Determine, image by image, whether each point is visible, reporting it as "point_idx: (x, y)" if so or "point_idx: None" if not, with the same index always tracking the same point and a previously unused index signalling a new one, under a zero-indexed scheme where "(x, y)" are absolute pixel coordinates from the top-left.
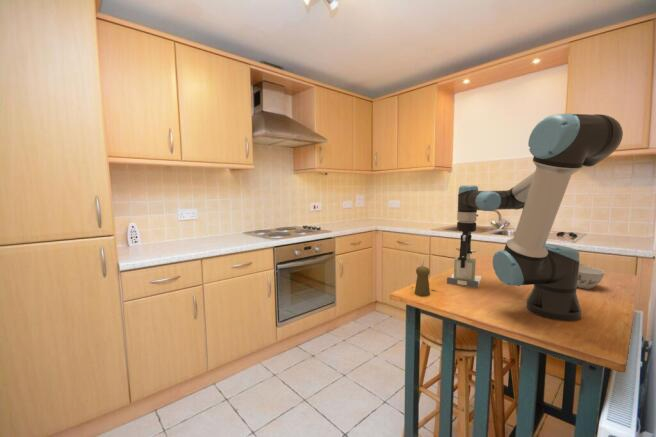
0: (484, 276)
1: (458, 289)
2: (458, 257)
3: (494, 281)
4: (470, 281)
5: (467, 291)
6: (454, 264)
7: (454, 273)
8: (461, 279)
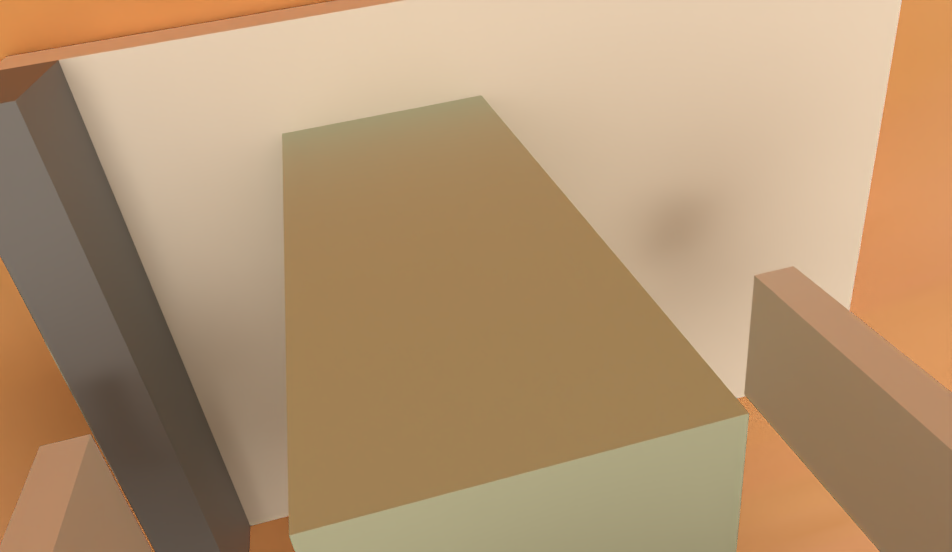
0: (934, 340)
1: (19, 298)
2: (680, 520)
3: (757, 484)
4: (149, 536)
5: (53, 427)
6: (289, 359)
7: (286, 218)
8: (108, 407)
